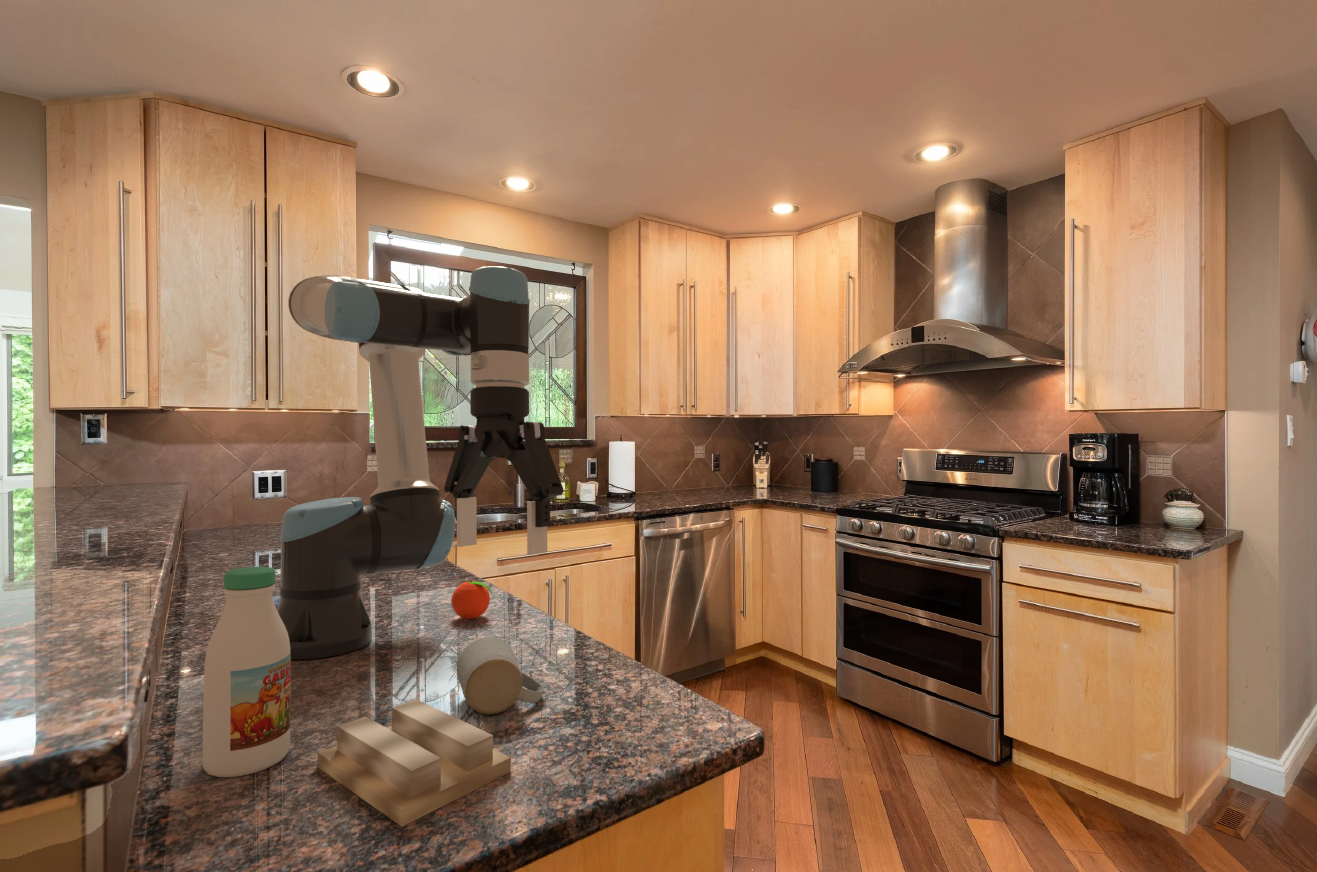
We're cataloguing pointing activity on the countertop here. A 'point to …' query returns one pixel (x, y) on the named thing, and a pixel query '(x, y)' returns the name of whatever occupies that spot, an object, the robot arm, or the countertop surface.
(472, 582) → the clementine
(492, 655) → the speckled stoneware cup
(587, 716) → the countertop surface
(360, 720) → the wooden block with ridges
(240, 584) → the milk bottle
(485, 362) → the robot arm
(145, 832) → the countertop surface
